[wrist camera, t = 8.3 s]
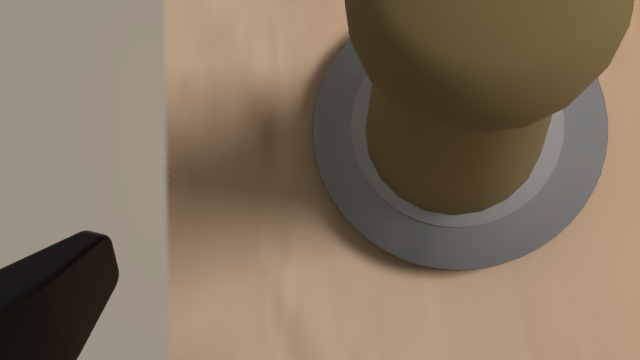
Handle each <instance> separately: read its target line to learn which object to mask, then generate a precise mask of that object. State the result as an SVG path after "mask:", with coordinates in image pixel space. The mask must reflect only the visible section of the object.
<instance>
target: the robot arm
mask: <svg viewBox="0 0 640 360" xmlns="http://www.w3.org/2000/svg"><path fill="white" fill-rule="evenodd" d="M118 277H119V270H118V265H117V261H116V257H115V253H114V249H113V245H112V242H111V239H110V238H109V237H108V236H107V235H104V234H100V233H95V232H92V231H82V232H79V233H77V234H75V235H73V236H71V237H69V238H66V239H64V240H62V241H60V242H58V243H55V244H53V245H51V246H49V247H47V248H45V249H43V250H41V251H38V252H36V253H34V254H32V255H30V256H28V257H25V258H23V259H21V260H19V261H17V262H15V263H13V264H10V265H8V266H6V267H4V268H2V269H0V360H77V358H78V356H79V355H80V353H81V351H82V349H83V347H84V345H85V344H86V341H87V340H88V338H89V336H90V334H91V332H92V330H93V328H94V326H95V324H96V322H97V321H98V319H99V317H100V315H101V313H102V311H103V309H104V308H105V306H106V304H107V302H108V300H109V298H110V296H111V294H112V292H113V290H114V288H115V286H116V284H117V281H118Z"/></svg>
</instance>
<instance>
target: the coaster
mask: <svg viewBox="0 0 640 360" xmlns="http://www.w3.org/2000/svg"><path fill="white" fill-rule="evenodd" d="M371 88H372V82H371V81H370V79H369V77H368V75H367V73H366V71H365V69H364V68H363V66H362V64H361V62H360V60H359V58H358V56H357V54H356V52H355V50H354V48H353V45H352V42H351V39H349V40H348V41H347V42H346V44H345V45H344V46H343V47H342V48H341V49H340V51H339V52H338V54H337V55H336V57H335V58H334V60H333V61H332V63H331V64H330V66H329V69H328V71H327V73H326V75H325V77H324V79H323V81H322V84H321V87H320V90H319V93H318V96H317V100H316V105H315V110H314V118H313V143H314V152H315V157H316V161H317V166H318V169H319V172H320V175H321V178H322V180H323V183H324V185H325V187H326V189H327V191H328V193H329V195H330V197H331V199H332V200H333V202H334V203H335V205H336V206H337V207H338V209H339V210H340V212H341V213H342V215H343V216H344V217H345V218H346V219H347V220H348V221H349V222H350V223H351V224H352V226H353V227H354V228H355V229H356V230H357V231H358V232H360V233H361V234H362V235H363V236H364V237H366V238H367V239H368V240H369V241H370V242H372V243H373V244H375V245H376V246H378V247H380V248H381V249H383V250H384V251H386V252H388V253H390V254H392V255H394V256H396V257H398V258H400V259H402V260H405V261H408V262H411V263H414V264H417V265H421V266H425V267H431V268H436V269H443V270H472V269H481V268H486V267H491V266H496V265H500V264H503V263H506V262H509V261H512V260H515V259H517V258H520V257H522V256H524V255H526V254H528V253H530V252H532V251H534V250H536V249H538V248H540V247H541V246H543V245H544V244H546V243H547V242H549V241H550V240H551V239H553V238H554V237H556V236H557V235H558V234H559V233H560V232H561V231H562V230H563V229H565V228H566V227H567V226H568V225H569V224H570V223H571V222H572V221H573V219H574V218H575V217H576V216H577V215H578V213H579V212H580V211H581V210H582V208H583V207H584V205H585V204H586V202H587V201H588V199H589V197H590V196H591V194H592V192H593V191H594V188H595V186H596V184H597V181H598V179H599V177H600V174H601V171H602V167H603V164H604V160H605V156H606V150H607V141H608V116H607V110H606V105H605V99H604V96H603V92H602V89H601V86H600V83H599V80H598V78H597V79H596V80H595V81H594V82H593V83H592V84H591V85H590V86H588V87H587V88H586V89H585V90H584V91H583V92H582V93H581V94H580V95H579V96H578V97H577V98H576V99H575V100H574V101H573V102H572V103H571V104H570V105H569V106H568V107H566V108H564V109H562V110H560V111H558V112H556V113H554V114H553V115H552V118H551V122H550V125H549V128H548V132H547V135H546V139H545V142H544V145H543V149H542V152H541V155H540V157H539V159H538V161H537V163H536V165H535V167H534V169H533V171H532V173H531V174H530V176H529V178H528V180H527V181H526V182H525V183H524V184H523V185H522V186H521V187H520V188H519V189H517V190H516V191H515V192H514V193H513V194H512V195H511V196H510V197H509V198H508V199H507V200H505V201H502V202H500V203H498V204H496V205H494V206H492V207H490V208H488V209H486V210H484V211H482V212H474V213H467V214H460V215H447V214H441V213H435V212H430V211H424V210H422V209H420V208H418V207H417V206H415V205H413V204H411V203H409V202H407V201H405V200H403V199H401V198H399V197H398V196H397V195H396V194H395V193H394V192H393V191H392V190H391V189H390V188H389V187H388V186H387V185H386V184H385V183H384V182H383V181H382V180H381V179H380V177H379V175H378V173H377V171H376V169H375V167H374V165H373V163H372V161H371V159H370V157H369V154H368V147H367V139H366V132H365V126H366V120H367V114H368V107H369V101H370V95H371Z"/></svg>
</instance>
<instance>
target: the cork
mask: <svg viewBox="0 0 640 360" xmlns="http://www.w3.org/2000/svg"><path fill="white" fill-rule="evenodd" d="M633 5H634V0H345V7H346V14H347V21H348V28H349V35H350V39H351V42H352V45H353V48H354V50H355V52H356V54H357V56H358V58H359V60H360V62H361V64H362V66H363V68H364V69H365V71H366V73H367V75H368V77H369V79H370V81H371V82H372V88H371V95H370V101H369V107H368V114H367V120H366V126H365V132H366V139H367V147H368V154H369V157H370V159H371V161H372V163H373V165H374V167H375V169H376V171H377V173H378V175H379V177H380V179H381V180H382V181H383V182H384V183H385V184H386V185H387V186H388V187H389V188H390V189H391V190H392V191H393V192H394V193H395V194H396V195H397V196H398V197H399V198H401V199H403V200H405V201H407V202H409V203H411V204H413V205H415V206H417V207H418V208H420V209H422V210H424V211H430V212H435V213H441V214H447V215H460V214H467V213H474V212H482V211H484V210H486V209H488V208H490V207H492V206H494V205H496V204H498V203H500V202H502V201H505V200H507V199H508V198H509V197H510V196H511V195H512V194H513V193H514V192H515V191H516V190H517V189H519V188H520V187H521V186H522V185H523V184H524V183H525V182H526V181H527V180H528V178H529V176H530V174H531V173H532V171H533V169H534V167H535V165H536V163H537V161H538V159H539V157H540V155H541V152H542V149H543V145H544V142H545V139H546V135H547V132H548V128H549V125H550V122H551V118H552V115H553V114H554V113H556V112H558V111H560V110H562V109H564V108H566V107H568V106H569V105H570V104H571V103H572V102H573V101H574V100H575V99H576V98H577V97H578V96H579V95H580V94H581V93H582V92H583V91H584V90H585V89H586V88H587V87H588V86H590V85H591V84H592V83H593V82H594V81H595V80H596V79H597V78H598V77H599V76H600V75H601V74H602V73H603V71H604V70H605V69H606V68H607V67H608V66H609V65H610V63H611V61H612V59H613V57H614V55H615V53H616V51H617V49H618V47H619V45H620V43H621V41H622V39H623V37H624V35H625V33H626V32H627V30H628V28H629V26H630V21H631V16H632V12H633Z"/></svg>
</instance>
